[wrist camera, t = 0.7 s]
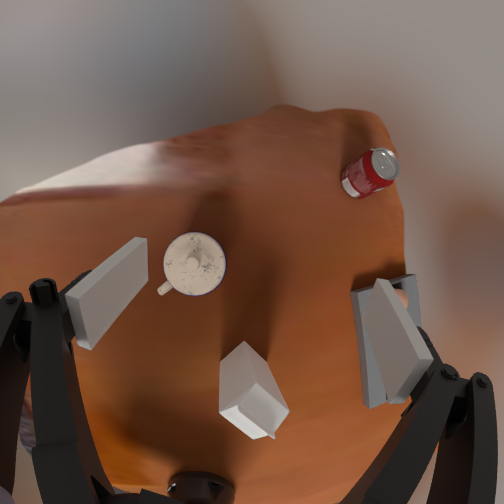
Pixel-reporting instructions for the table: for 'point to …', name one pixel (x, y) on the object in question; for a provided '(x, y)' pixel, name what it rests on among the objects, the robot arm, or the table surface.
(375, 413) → the table surface
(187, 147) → the table surface
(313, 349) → the table surface
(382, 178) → the soda can
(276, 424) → the milk
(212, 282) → the teacup with lid
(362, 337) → the button panel
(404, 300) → the button terracotta
